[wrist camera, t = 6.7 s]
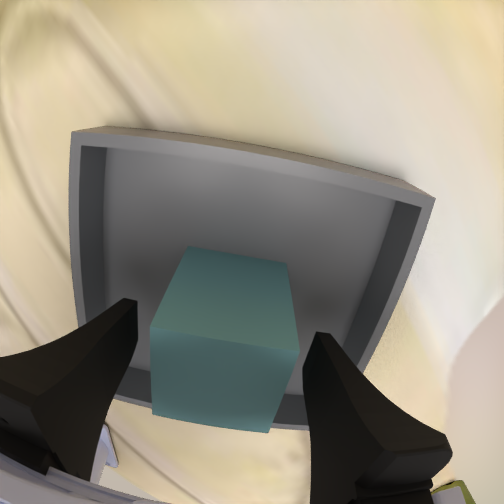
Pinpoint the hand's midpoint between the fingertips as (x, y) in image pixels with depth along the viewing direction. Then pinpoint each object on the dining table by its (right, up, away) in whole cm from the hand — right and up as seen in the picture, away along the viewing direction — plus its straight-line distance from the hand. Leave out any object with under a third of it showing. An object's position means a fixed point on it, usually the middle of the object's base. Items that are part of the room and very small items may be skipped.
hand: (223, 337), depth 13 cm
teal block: (0, +1, +3) cm, 3 cm away
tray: (0, +2, +4) cm, 4 cm away
